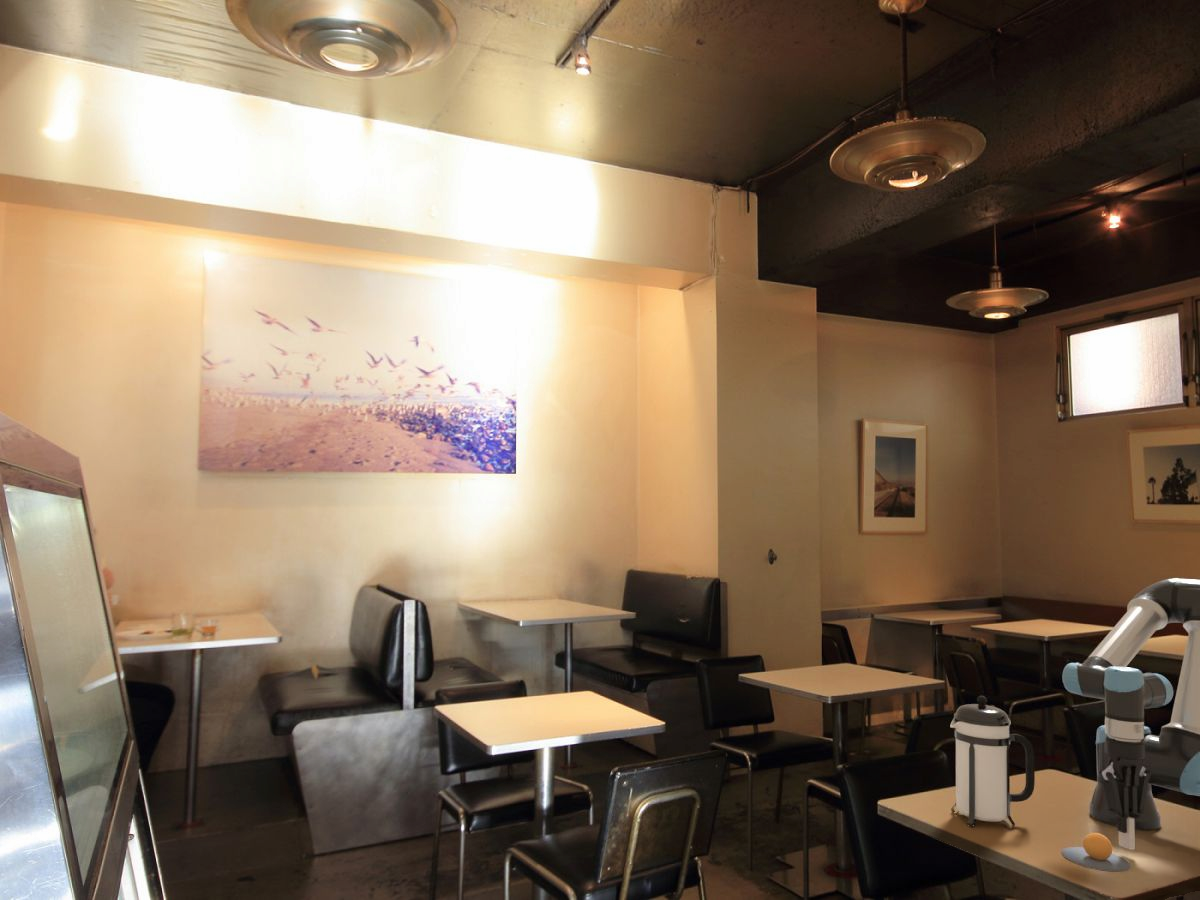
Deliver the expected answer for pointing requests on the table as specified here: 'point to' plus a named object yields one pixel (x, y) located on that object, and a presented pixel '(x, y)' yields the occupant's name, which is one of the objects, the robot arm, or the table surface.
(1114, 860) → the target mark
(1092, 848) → the ball
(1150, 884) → the table surface
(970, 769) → the coffee press
